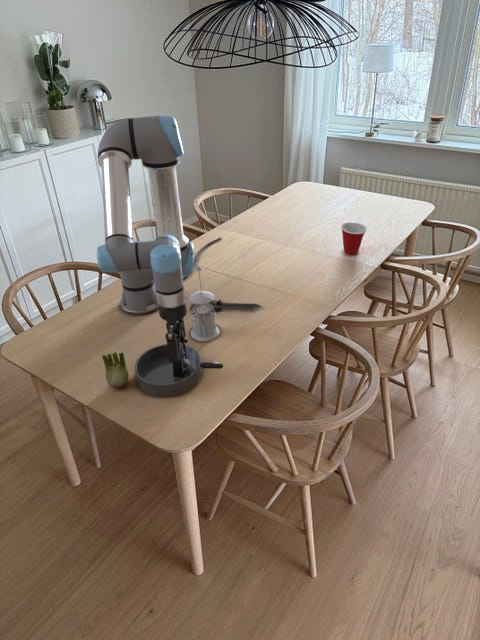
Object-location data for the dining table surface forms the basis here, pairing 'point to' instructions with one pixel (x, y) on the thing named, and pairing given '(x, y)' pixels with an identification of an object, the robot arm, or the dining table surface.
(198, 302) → the french press
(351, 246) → the plastic cup
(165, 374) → the pan
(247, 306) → the knife
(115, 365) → the fennel bulb
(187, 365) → the salt shaker
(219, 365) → the pan handle
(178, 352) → the robot arm
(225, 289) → the dining table surface
